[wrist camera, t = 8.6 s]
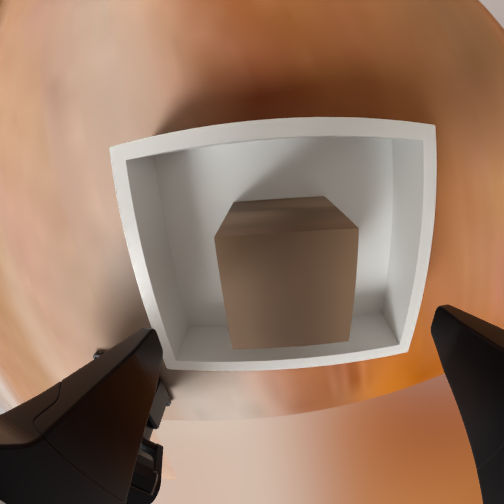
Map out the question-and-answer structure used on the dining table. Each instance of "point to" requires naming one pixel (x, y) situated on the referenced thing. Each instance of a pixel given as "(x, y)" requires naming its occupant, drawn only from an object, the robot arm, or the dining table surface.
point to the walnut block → (287, 272)
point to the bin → (276, 187)
